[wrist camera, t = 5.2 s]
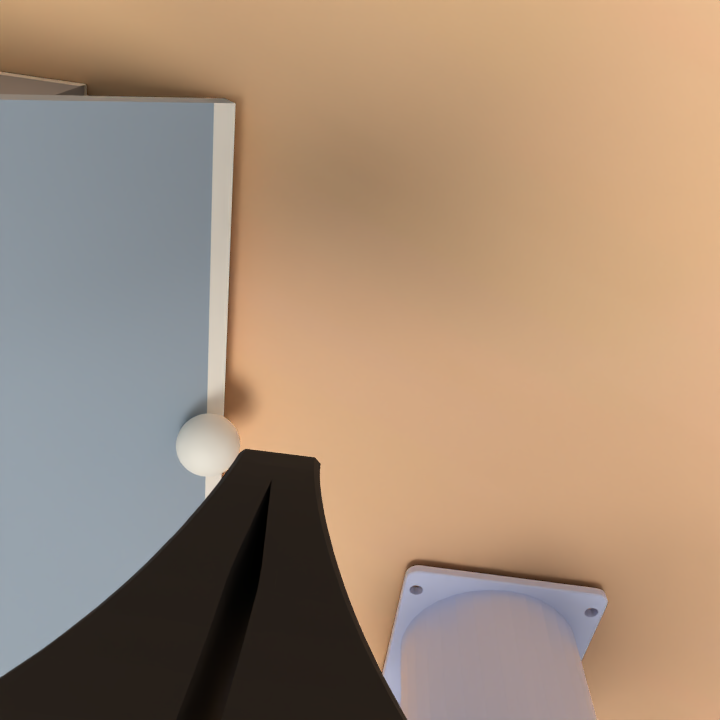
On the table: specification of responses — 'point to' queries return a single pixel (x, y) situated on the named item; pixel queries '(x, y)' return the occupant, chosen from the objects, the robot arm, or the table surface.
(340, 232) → the table surface
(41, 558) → the lid
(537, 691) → the robot arm
